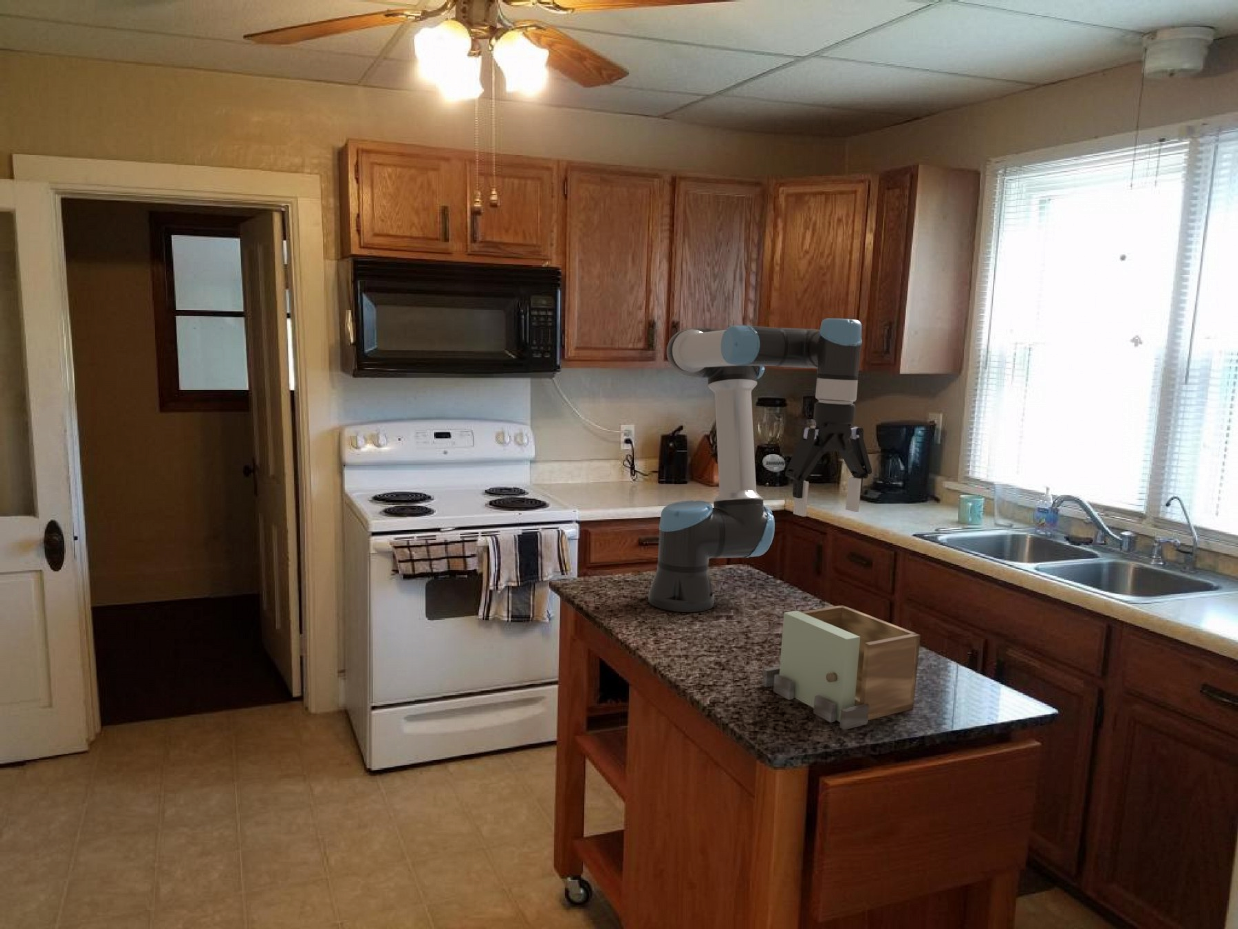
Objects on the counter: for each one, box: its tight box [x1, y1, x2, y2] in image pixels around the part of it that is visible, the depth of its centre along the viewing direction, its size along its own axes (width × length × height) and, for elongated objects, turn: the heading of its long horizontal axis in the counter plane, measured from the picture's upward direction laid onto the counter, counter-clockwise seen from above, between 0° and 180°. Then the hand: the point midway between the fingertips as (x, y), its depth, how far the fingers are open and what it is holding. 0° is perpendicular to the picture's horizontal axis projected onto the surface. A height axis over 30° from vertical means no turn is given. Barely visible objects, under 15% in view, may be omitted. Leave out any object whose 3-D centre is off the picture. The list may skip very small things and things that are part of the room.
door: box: [779, 610, 860, 723], centre depth 150 cm, size 15×4×14 cm, turn 31°
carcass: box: [761, 604, 921, 731], centre depth 153 cm, size 20×17×13 cm
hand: (826, 513), depth 170 cm, fingers open, 13 cm apart
